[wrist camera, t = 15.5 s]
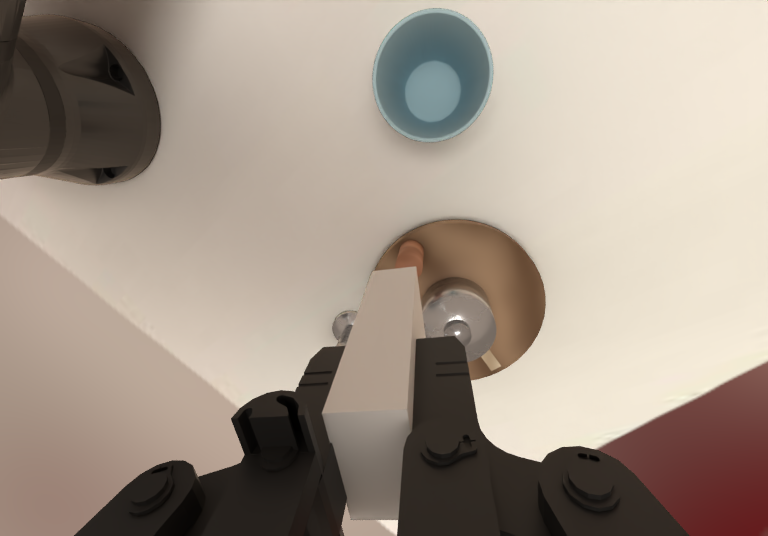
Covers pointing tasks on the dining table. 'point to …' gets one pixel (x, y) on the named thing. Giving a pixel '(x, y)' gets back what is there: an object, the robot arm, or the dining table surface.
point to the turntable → (479, 280)
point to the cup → (432, 75)
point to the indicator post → (343, 326)
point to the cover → (459, 314)
